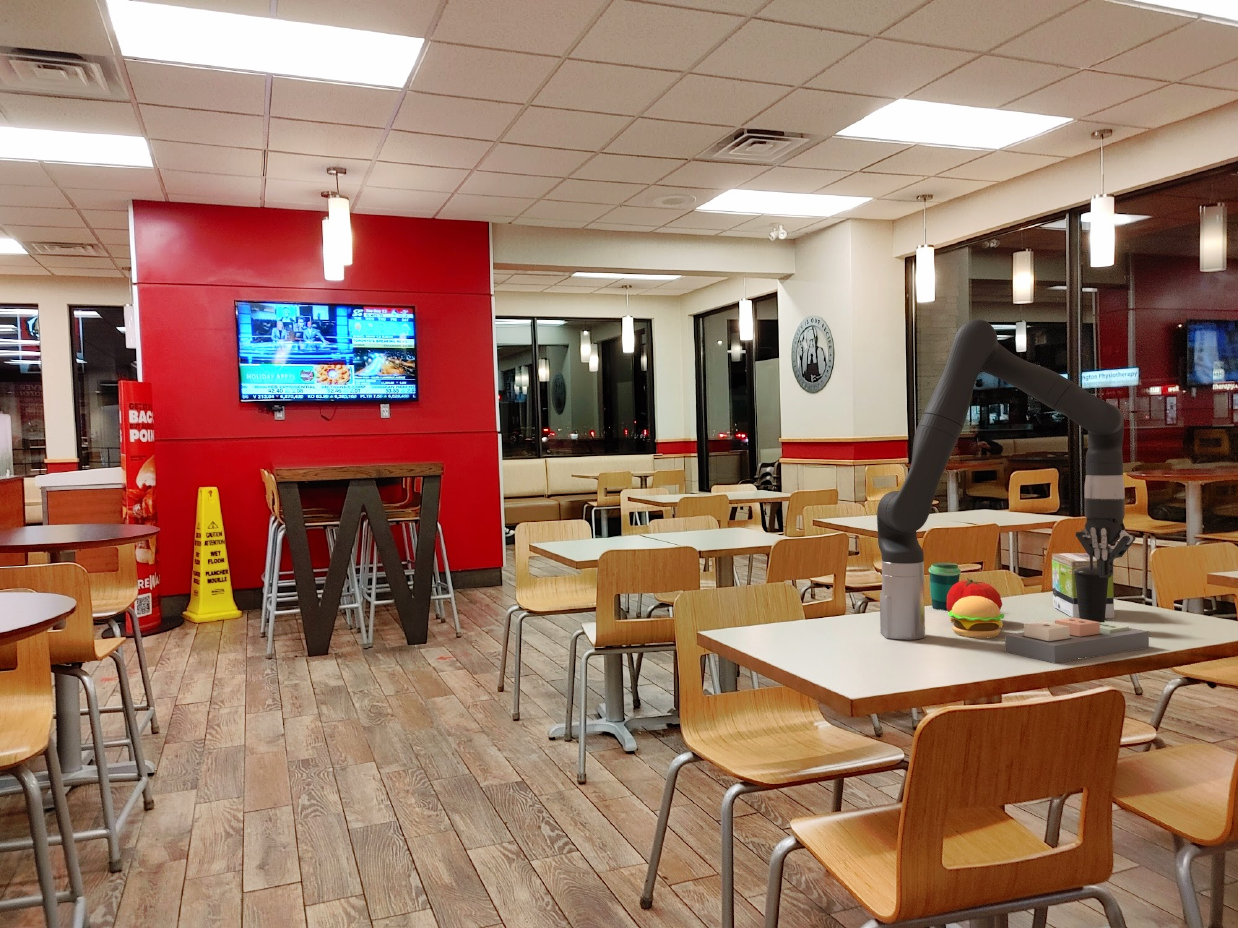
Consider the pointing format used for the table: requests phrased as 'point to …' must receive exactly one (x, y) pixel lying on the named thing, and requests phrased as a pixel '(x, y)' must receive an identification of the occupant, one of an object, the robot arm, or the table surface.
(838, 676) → the table surface
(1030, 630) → the cream tile
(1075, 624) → the terracotta tile
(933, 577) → the cup
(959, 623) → the hamburger
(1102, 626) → the sage tile
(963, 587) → the tomato
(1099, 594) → the drinking cup
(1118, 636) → the console
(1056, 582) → the tea box
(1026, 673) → the table surface
